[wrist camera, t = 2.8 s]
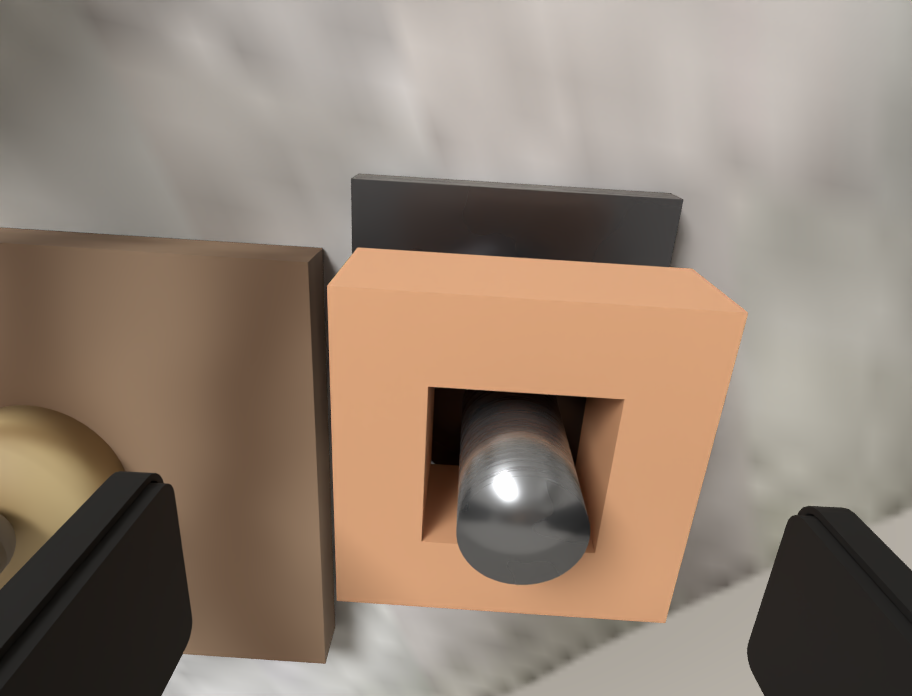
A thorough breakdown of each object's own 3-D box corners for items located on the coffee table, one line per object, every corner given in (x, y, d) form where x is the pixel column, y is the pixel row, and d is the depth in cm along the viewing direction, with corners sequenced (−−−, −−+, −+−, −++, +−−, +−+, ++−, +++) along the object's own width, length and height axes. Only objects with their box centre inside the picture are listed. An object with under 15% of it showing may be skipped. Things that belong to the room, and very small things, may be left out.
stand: (670, 192, 15) (882, 296, 7) (618, 457, 18) (726, 729, 10) (358, 173, 15) (232, 255, 7) (360, 440, 18) (274, 698, 10)
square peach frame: (692, 268, 11) (748, 312, 9) (633, 534, 14) (665, 623, 11) (357, 247, 11) (327, 285, 9) (359, 516, 14) (336, 600, 11)
